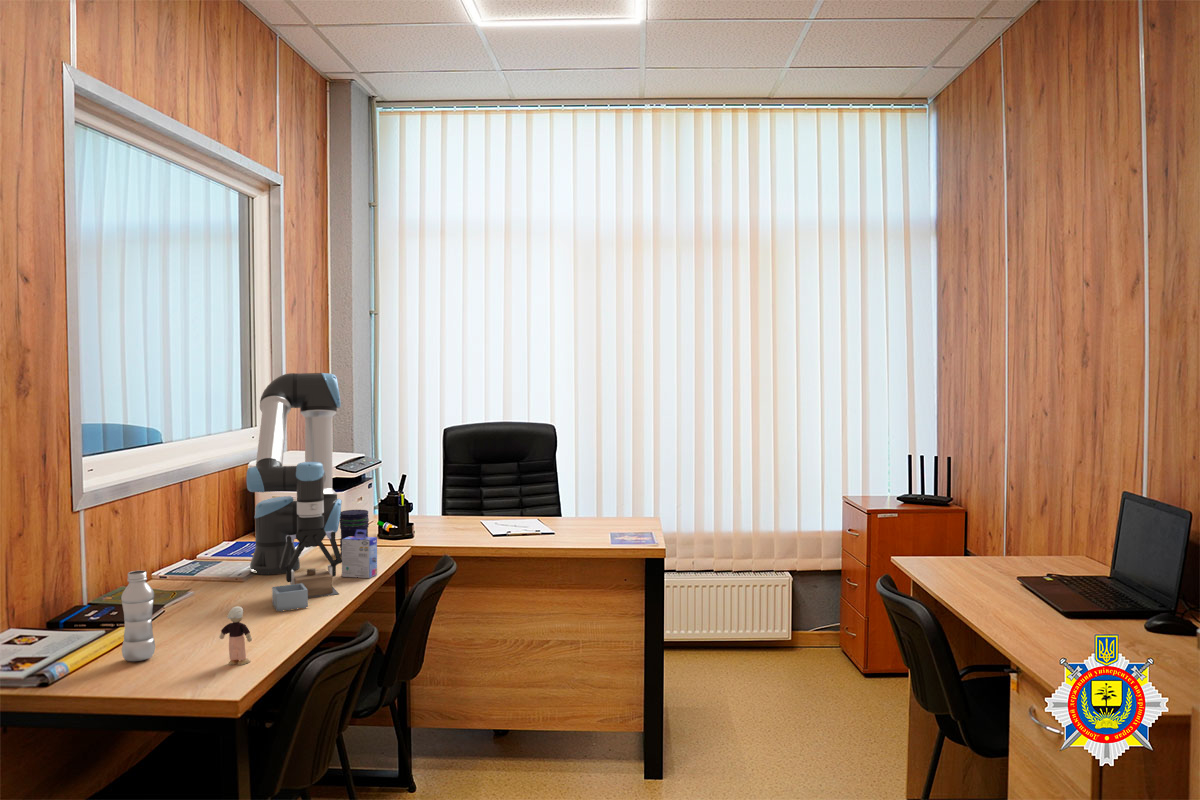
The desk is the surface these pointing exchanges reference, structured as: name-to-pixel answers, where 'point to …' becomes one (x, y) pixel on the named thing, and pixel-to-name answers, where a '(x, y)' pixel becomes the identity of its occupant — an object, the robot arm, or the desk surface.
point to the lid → (315, 581)
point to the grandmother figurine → (236, 637)
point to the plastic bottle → (138, 618)
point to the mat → (326, 594)
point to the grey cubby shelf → (289, 597)
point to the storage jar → (353, 523)
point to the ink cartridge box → (359, 556)
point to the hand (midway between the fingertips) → (311, 590)
